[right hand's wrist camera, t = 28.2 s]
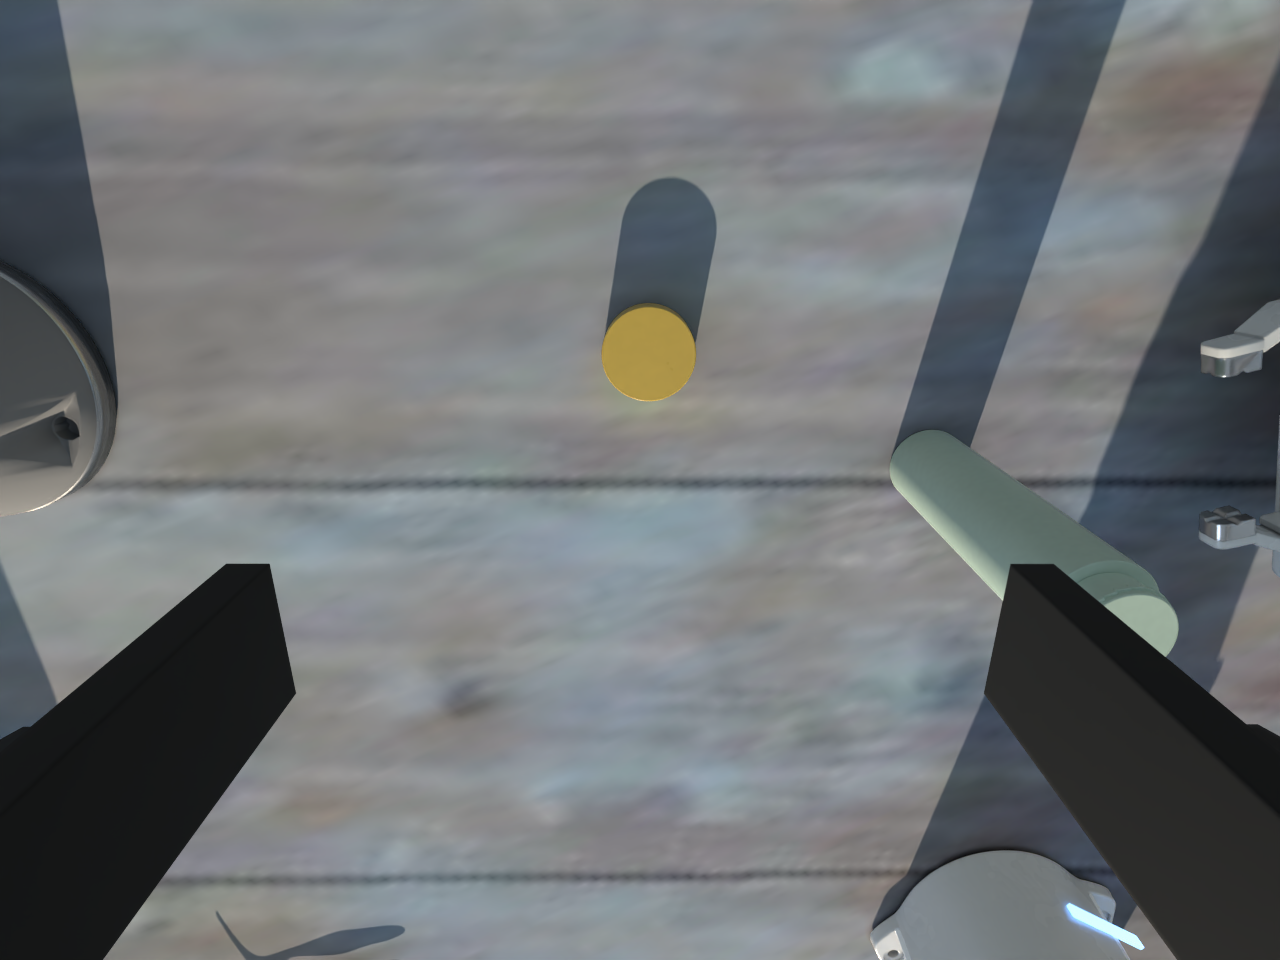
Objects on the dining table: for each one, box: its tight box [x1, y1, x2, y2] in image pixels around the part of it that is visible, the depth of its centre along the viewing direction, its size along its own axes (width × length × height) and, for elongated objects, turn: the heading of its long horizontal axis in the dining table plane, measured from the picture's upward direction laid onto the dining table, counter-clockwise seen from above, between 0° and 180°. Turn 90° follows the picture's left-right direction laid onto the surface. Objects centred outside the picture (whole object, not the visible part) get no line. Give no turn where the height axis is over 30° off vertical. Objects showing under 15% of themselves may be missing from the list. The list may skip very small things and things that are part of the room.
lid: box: [602, 303, 696, 401], centre depth 40 cm, size 5×5×2 cm
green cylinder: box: [890, 430, 1179, 657], centre depth 34 cm, size 4×4×19 cm
